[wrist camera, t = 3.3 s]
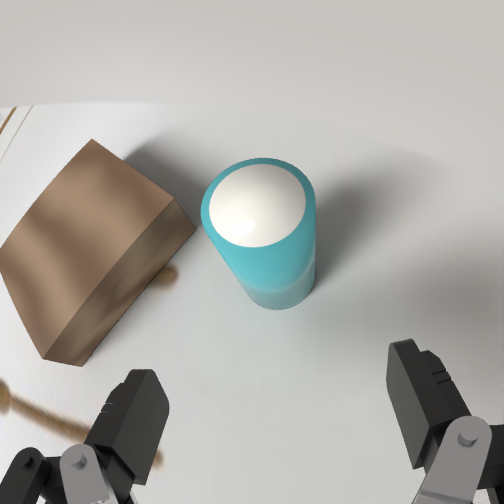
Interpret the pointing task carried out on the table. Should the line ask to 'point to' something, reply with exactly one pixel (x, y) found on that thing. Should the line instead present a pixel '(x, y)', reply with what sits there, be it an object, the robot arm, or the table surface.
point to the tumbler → (264, 229)
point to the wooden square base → (88, 252)
